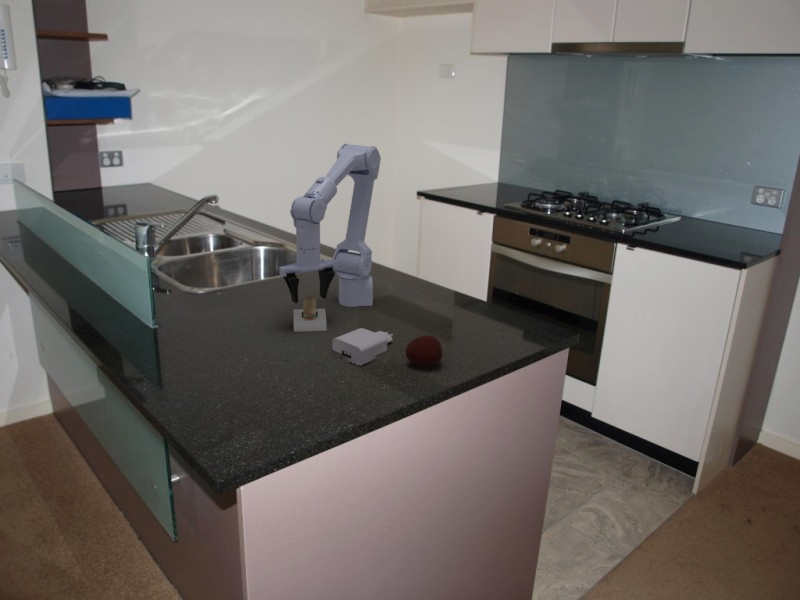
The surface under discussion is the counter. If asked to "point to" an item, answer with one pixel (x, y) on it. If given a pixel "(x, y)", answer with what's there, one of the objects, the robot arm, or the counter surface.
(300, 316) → the stand
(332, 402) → the counter surface
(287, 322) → the counter surface
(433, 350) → the potato
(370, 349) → the charger
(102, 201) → the counter surface
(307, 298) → the post
